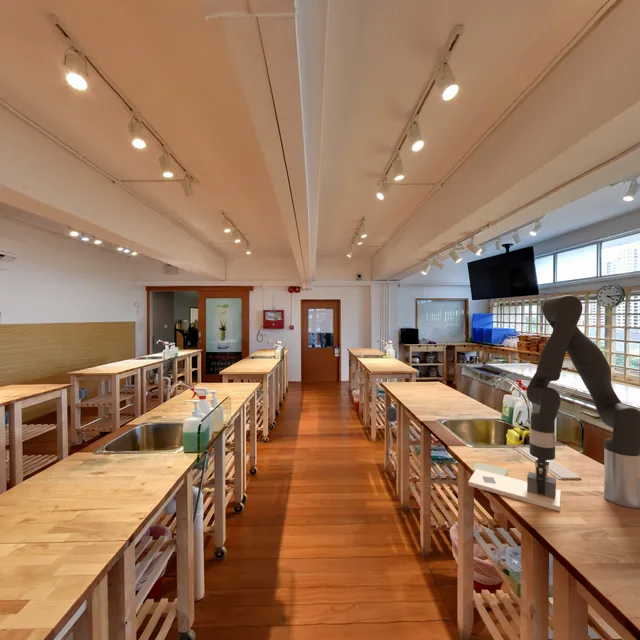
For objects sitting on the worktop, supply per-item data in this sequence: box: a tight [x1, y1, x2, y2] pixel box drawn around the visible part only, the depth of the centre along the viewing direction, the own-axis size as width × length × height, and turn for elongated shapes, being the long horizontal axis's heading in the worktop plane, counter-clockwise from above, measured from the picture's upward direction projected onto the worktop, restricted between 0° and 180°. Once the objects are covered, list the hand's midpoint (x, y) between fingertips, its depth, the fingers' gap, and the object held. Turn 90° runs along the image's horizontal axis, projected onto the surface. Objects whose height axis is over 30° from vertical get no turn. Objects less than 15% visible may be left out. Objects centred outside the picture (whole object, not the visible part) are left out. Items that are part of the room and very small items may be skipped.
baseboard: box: [512, 443, 582, 481], centre depth 145 cm, size 30×3×10 cm
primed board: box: [467, 469, 562, 512], centre depth 123 cm, size 28×13×2 cm, turn 53°
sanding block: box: [526, 471, 557, 500], centre depth 117 cm, size 8×5×6 cm, turn 52°
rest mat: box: [471, 461, 508, 477], centre depth 138 cm, size 12×9×1 cm
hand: (541, 490), depth 117 cm, fingers closed on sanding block, 5 cm apart
